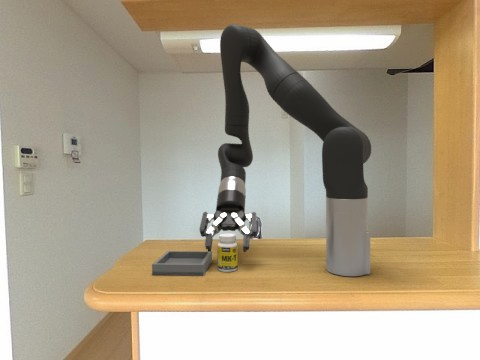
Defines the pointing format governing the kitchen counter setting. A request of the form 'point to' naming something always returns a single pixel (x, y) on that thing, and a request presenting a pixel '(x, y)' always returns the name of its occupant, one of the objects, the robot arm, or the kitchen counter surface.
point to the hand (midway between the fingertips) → (226, 250)
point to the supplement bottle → (227, 253)
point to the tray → (182, 263)
